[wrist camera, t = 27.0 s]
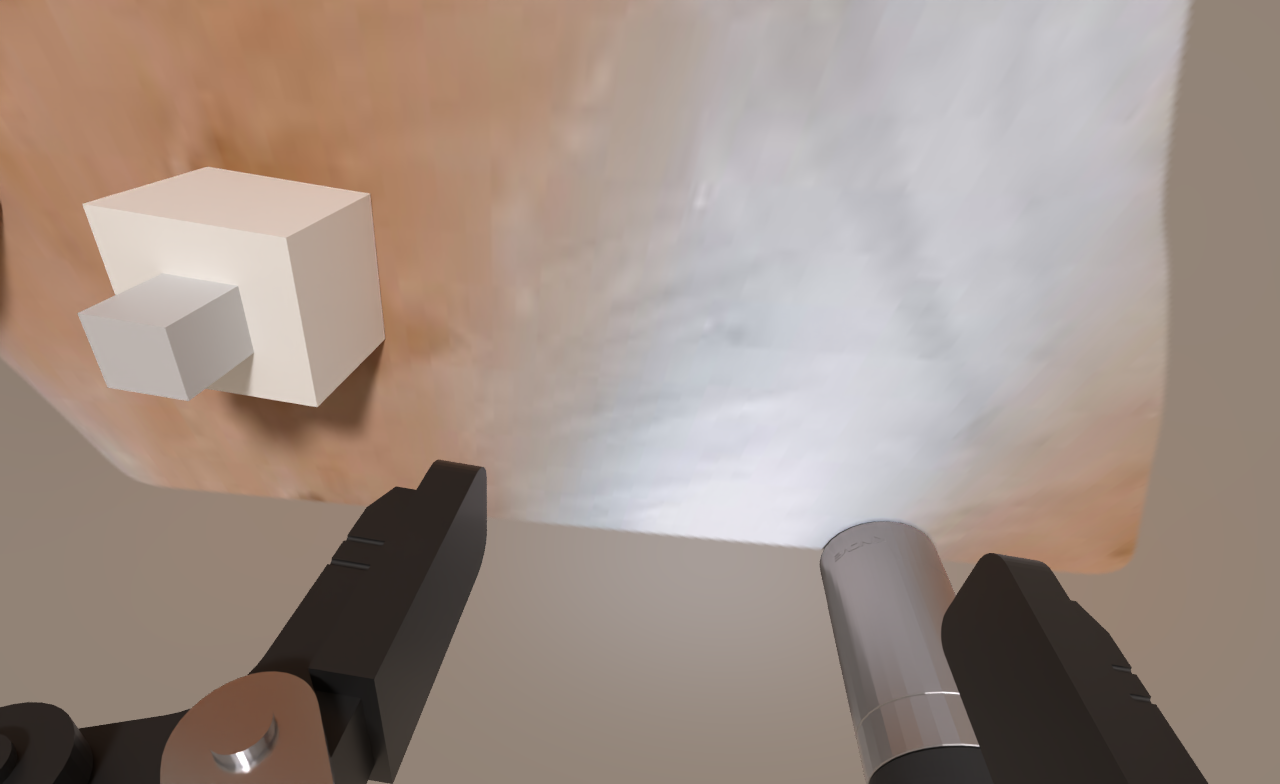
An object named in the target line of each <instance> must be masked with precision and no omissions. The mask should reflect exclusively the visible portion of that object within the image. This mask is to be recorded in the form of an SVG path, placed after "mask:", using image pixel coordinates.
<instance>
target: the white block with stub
mask: <svg viewBox="0 0 1280 784" xmlns="http://www.w3.org/2000/svg"><path fill="white" fill-rule="evenodd" d="M83 207H84V210H85V213H86V215H87V218H88V221H89V224H90V226H91V229H92V232H93V235H94V237H95V240H96V243H97V246H98V248H99V251H100V254H101V257H102V259H103V262H104V265H105V268H106V271H107V273H108V276H109V279H110V282H111V284H112V287H113V290H114V293H115V296H113V297H111V298H109V299H107V300H105V301H102V302H100V303H98V304H96V305H94V306H92V307H90V308H87V309H85V310H83V311H81V312H79V313H78V316H79V318H80V320H81V323H82V325H83V328H84V330H85V333H86V335H87V338H88V340H89V343H90V345H91V348H92V350H93V352H94V355H95V357H96V360H97V362H98V365H99V367H100V370H101V372H102V375H103V377H104V380H105V382H106V384H107V387H108V388H114V389H120V390H126V391H132V392H138V393H144V394H150V395H156V396H162V397H168V398H174V399H180V400H186V401H189V400H191V399H192V398H193V397H195V396H196V395H198V394H199V393H200V392H202V391H203V390H204V389H211V390H217V391H223V392H229V393H235V394H241V395H247V396H253V397H259V398H265V399H271V400H277V401H283V402H289V403H295V404H301V405H307V406H313V407H318V406H319V405H320V404H321V403H322V402H323V401H324V400H325V399H326V398H327V397H328V396H329V395H330V394H331V393H332V392H333V391H334V390H335V389H336V388H337V387H338V386H339V385H340V384H341V383H342V382H343V381H344V380H345V379H346V378H347V377H348V376H349V375H350V374H351V373H352V372H353V371H354V370H355V369H356V368H357V367H358V366H359V365H360V364H361V363H362V362H363V361H364V360H365V359H366V358H367V357H368V356H369V355H370V354H371V353H372V352H373V351H374V350H375V349H376V348H377V347H378V346H379V345H380V344H381V343H382V342H383V341H384V340H385V333H384V323H383V314H382V304H381V294H380V284H379V275H378V265H377V255H376V246H375V236H374V226H373V217H372V207H371V197H370V194H368V193H362V192H356V191H350V190H344V189H338V188H332V187H326V186H320V185H314V184H308V183H302V182H296V181H290V180H284V179H278V178H272V177H266V176H260V175H254V174H248V173H242V172H236V171H230V170H224V169H218V168H212V167H205V168H202V169H198V170H195V171H191V172H188V173H185V174H181V175H178V176H175V177H171V178H168V179H165V180H161V181H158V182H154V183H151V184H148V185H144V186H141V187H138V188H134V189H131V190H128V191H124V192H121V193H117V194H114V195H111V196H107V197H104V198H101V199H97V200H94V201H91V202H87V203H84V204H83Z"/></svg>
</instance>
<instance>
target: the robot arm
mask: <svg viewBox="0 0 1280 784" xmlns="http://www.w3.org/2000/svg"><path fill="white" fill-rule="evenodd" d="M486 536H487V477H486V470H485V468H484V467H480V466H474V465H468V464H462V463H456V462H450V461H444V460H436V461H435V462H434V463H433V464H432V465H431V467H430V468H429V470H428V472H427V473H426V475H425V477H424V478H423V480H422V482H421V483H420V485H419V487H418V488H417V490H414V489H408V488H401V487H395V488H393V489H392V490H390V491H389V492H388V493H386V494H385V495H383V496H382V497H381V498H379V499H378V500H377V501H375V502H374V503H372V504H371V505H370V506H368V507H367V508H366V509H365V511H364V512H363V514H362V515H361V516H360V518H359V519H358V521H357V522H356V524H355V525H354V527H353V528H352V530H351V531H350V532H349V534H348V538H347V540H346V541H343V543H342V544H341V546H340V547H339V548H338V550H337V551H336V553H335V554H334V556H333V557H332V561H331V564H330V565H329V564H327V566H326V567H325V569H324V571H323V572H322V573H321V574H320V576H319V578H318V579H317V581H316V582H315V583H314V585H313V586H312V588H311V589H310V590H309V592H308V593H307V595H306V596H305V598H304V599H303V601H302V602H301V604H300V605H299V607H298V608H297V609H296V611H295V612H294V614H293V615H292V617H291V618H290V619H289V621H288V622H287V624H286V625H285V627H284V628H283V630H282V631H281V633H280V634H279V636H278V637H277V638H276V640H275V641H274V643H273V644H272V646H271V647H270V648H269V650H268V651H267V653H266V654H265V656H264V657H263V658H262V660H261V661H260V662H259V663H258V665H257V666H256V667H255V668H254V669H253V670H252V671H251V672H250V673H249V674H248V675H247V676H244V677H240V678H237V679H235V680H233V681H230V682H228V683H226V684H224V685H223V686H221V687H219V688H217V689H215V690H214V691H212V692H211V693H209V694H208V695H207V696H205V697H204V698H202V699H201V700H200V701H199V702H198V703H197V704H196V705H194V706H193V707H192V708H191V709H188V710H185V711H182V712H179V713H174V714H169V715H164V716H158V717H151V718H145V719H139V720H132V721H125V722H119V723H112V724H106V725H99V726H93V727H86V728H80V729H78V728H77V726H76V725H75V723H74V722H73V721H72V719H71V718H70V717H69V715H68V714H67V713H66V712H65V711H63V710H62V709H61V708H58V707H56V706H54V705H51V704H45V703H29V702H28V703H20V704H13V705H9V706H4V707H0V784H366V783H367V781H368V780H374V781H379V782H385V783H391V784H393V782H394V780H395V777H396V775H397V772H398V770H399V767H400V765H401V762H402V760H403V757H404V755H405V752H406V750H407V747H408V745H409V742H410V740H411V738H412V735H413V732H414V730H415V727H416V725H417V723H418V720H419V718H420V715H421V713H422V711H423V708H424V705H425V703H426V701H427V698H428V696H429V693H430V690H431V688H432V686H433V683H434V681H435V678H436V676H437V673H438V671H439V669H440V666H441V664H442V661H443V659H444V656H445V653H446V651H447V649H448V647H449V644H450V642H451V639H452V636H453V634H454V632H455V629H456V627H457V624H458V622H459V619H460V617H461V614H462V612H463V610H464V607H465V605H466V602H467V600H468V597H469V595H470V592H471V590H472V587H473V585H474V583H475V580H476V578H477V575H478V572H479V570H480V566H481V563H482V559H483V555H484V551H485V545H486ZM820 570H821V575H822V580H823V584H824V589H825V594H826V598H827V603H828V609H829V614H830V618H831V623H832V627H833V633H834V637H835V642H836V647H837V651H838V656H839V661H840V665H841V670H842V675H843V679H844V684H845V689H846V693H847V698H848V703H849V707H850V712H851V716H852V721H853V726H854V731H855V735H856V739H857V744H858V748H859V753H860V758H861V762H862V767H863V772H864V777H865V781H866V784H1208V782H1207V781H1206V779H1205V778H1204V776H1203V775H1202V773H1201V772H1200V770H1199V769H1198V767H1197V766H1196V764H1195V763H1194V761H1193V760H1192V758H1191V757H1190V755H1189V754H1188V752H1187V751H1186V749H1185V748H1184V746H1183V745H1182V743H1181V742H1180V740H1179V739H1178V737H1177V736H1176V734H1175V733H1174V731H1173V730H1172V728H1171V726H1170V725H1169V723H1168V722H1167V720H1166V719H1165V717H1164V716H1163V714H1162V713H1161V711H1160V710H1159V708H1158V707H1157V705H1155V704H1151V702H1150V698H1151V696H1150V695H1149V693H1148V692H1147V690H1146V689H1145V687H1144V686H1143V684H1142V683H1141V681H1140V680H1139V678H1138V677H1137V675H1135V674H1132V673H1131V666H1130V664H1129V663H1128V662H1127V660H1126V658H1125V657H1124V656H1123V654H1122V652H1121V651H1120V650H1119V648H1118V646H1117V645H1116V643H1115V642H1114V641H1113V639H1112V637H1111V636H1110V634H1109V633H1108V632H1107V631H1106V630H1105V629H1104V628H1103V627H1102V626H1101V625H1100V624H1099V623H1098V622H1097V621H1096V620H1095V619H1094V618H1092V616H1090V615H1089V614H1088V613H1087V612H1086V611H1085V610H1084V609H1083V608H1082V607H1081V606H1080V605H1079V604H1078V603H1077V602H1076V601H1071V600H1070V599H1069V597H1068V596H1067V594H1066V593H1065V591H1064V589H1063V588H1062V586H1061V585H1060V583H1059V581H1058V580H1057V578H1056V577H1055V575H1054V573H1053V572H1052V571H1051V569H1050V568H1049V567H1048V566H1047V565H1046V564H1044V563H1043V562H1040V561H1036V560H1030V559H1024V558H1018V557H1012V556H1006V555H1000V554H994V553H989V554H986V555H984V556H983V557H982V558H980V560H979V561H978V563H977V564H976V566H975V567H974V569H973V570H972V572H971V573H970V575H969V576H968V578H967V580H966V581H965V583H964V584H963V586H962V587H961V589H960V590H959V592H958V593H957V595H955V592H954V590H953V588H952V585H951V583H950V580H949V578H948V576H947V573H946V571H945V569H944V567H943V564H942V562H941V560H940V558H939V555H938V553H937V551H936V548H935V546H934V544H933V543H932V541H931V540H930V538H929V537H928V536H926V535H925V534H924V533H923V532H922V531H920V530H918V529H916V528H914V527H912V526H909V525H906V524H903V523H897V522H889V521H884V522H871V523H865V524H861V525H858V526H855V527H852V528H850V529H848V530H846V531H844V532H842V533H840V534H839V535H838V536H836V537H835V538H834V539H832V540H831V541H830V543H829V544H828V545H827V546H826V547H825V549H824V551H823V553H822V555H821V560H820Z"/></svg>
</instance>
